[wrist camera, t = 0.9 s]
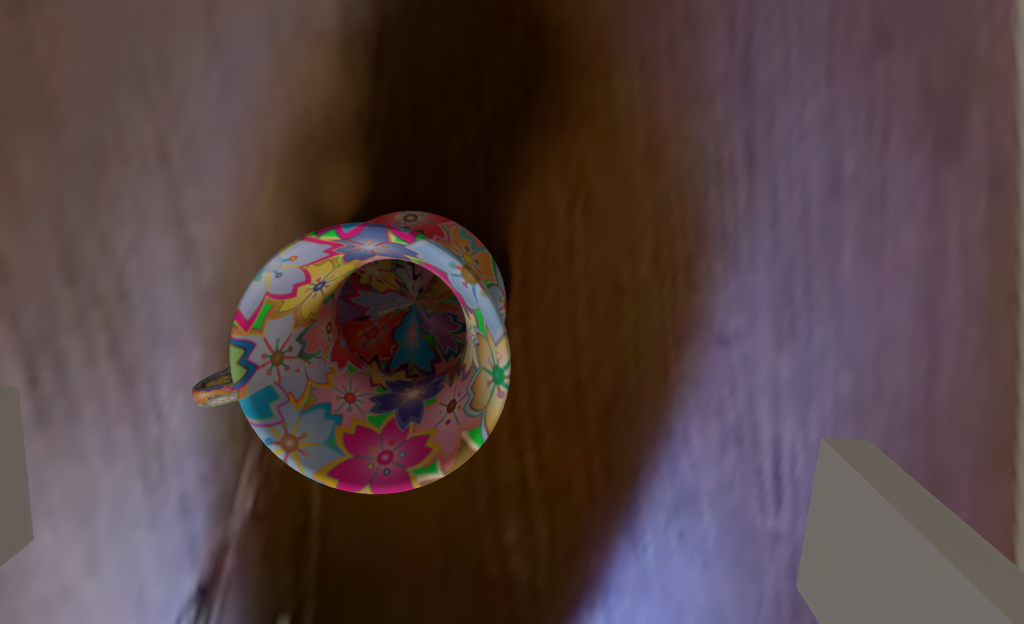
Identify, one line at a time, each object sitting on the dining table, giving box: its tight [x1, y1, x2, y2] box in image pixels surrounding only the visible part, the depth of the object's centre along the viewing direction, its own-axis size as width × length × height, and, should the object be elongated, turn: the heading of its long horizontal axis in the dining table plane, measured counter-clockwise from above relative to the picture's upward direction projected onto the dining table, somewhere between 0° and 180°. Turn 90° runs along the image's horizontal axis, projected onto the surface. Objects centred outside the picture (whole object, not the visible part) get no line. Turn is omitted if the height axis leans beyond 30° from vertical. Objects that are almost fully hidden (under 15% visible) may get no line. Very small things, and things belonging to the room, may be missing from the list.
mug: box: [192, 211, 511, 494], centre depth 29 cm, size 12×9×11 cm
